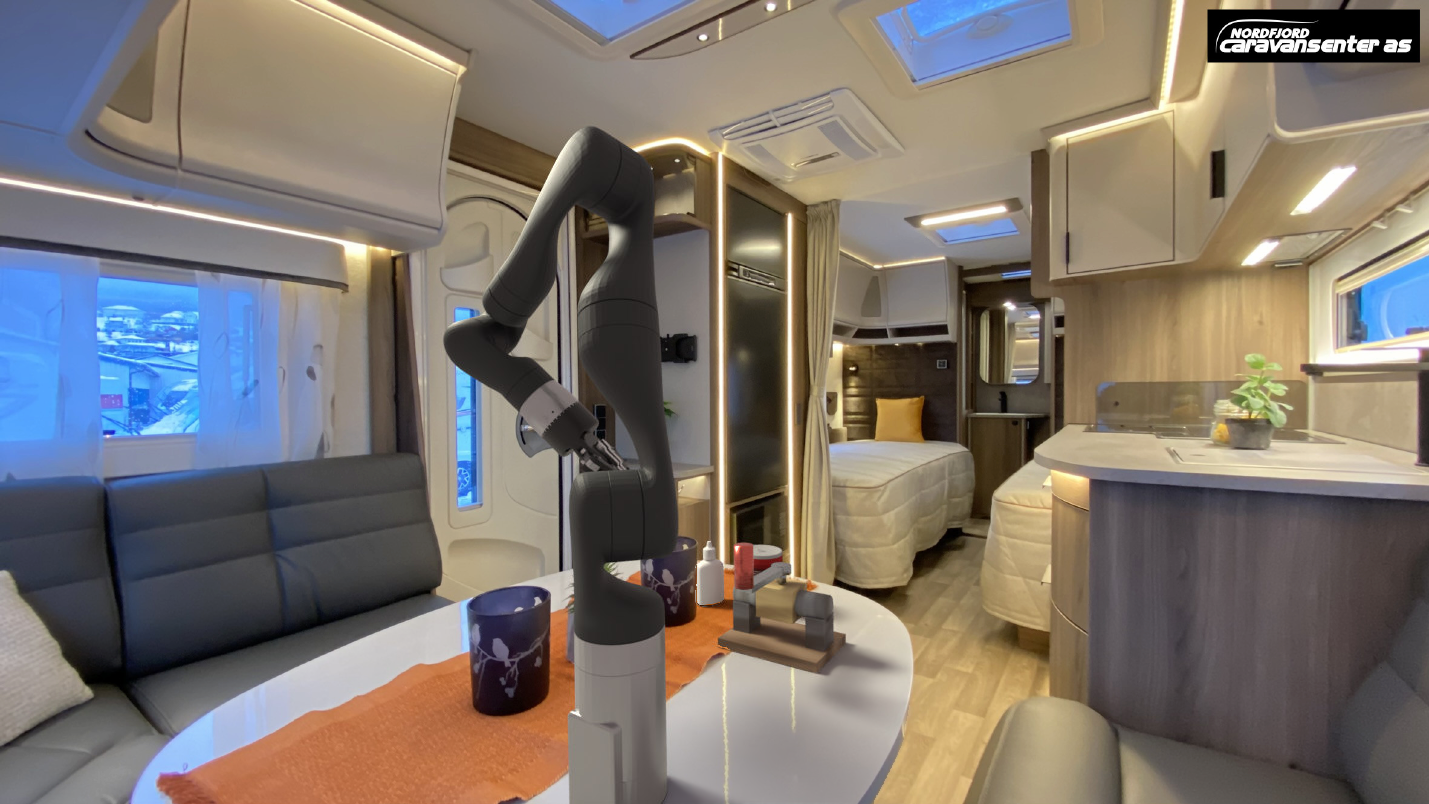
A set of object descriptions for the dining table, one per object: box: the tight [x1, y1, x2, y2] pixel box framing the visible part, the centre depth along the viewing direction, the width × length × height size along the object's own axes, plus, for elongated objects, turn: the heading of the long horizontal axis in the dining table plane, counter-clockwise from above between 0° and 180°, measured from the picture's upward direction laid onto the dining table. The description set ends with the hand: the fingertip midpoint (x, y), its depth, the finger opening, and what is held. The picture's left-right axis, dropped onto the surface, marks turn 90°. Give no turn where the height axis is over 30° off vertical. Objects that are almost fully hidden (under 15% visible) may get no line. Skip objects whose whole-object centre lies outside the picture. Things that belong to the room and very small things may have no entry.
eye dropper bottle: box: [696, 540, 725, 606], centre depth 115 cm, size 4×6×12 cm
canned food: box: [753, 544, 784, 576], centre depth 112 cm, size 8×8×11 cm
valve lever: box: [733, 542, 792, 594], centre depth 90 cm, size 15×3×9 cm, turn 147°
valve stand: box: [717, 577, 847, 674], centre depth 95 cm, size 12×17×10 cm
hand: (642, 500), depth 87 cm, fingers closed
